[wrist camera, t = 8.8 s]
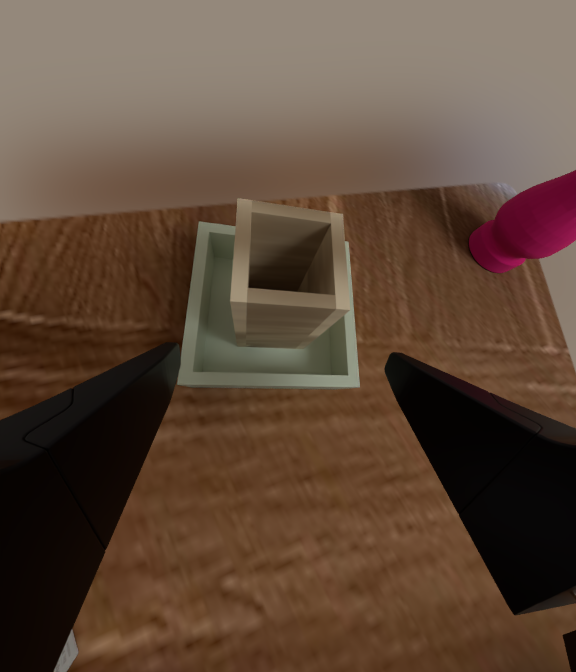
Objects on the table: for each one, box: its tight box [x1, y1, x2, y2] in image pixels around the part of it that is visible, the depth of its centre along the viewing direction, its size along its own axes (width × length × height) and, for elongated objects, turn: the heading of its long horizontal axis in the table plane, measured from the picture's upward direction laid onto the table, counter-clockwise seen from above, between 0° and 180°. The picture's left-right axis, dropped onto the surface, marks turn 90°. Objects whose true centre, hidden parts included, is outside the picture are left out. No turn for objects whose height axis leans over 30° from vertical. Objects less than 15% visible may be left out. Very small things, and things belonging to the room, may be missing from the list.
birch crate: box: [230, 198, 350, 349], centre depth 15 cm, size 6×6×9 cm
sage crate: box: [177, 222, 360, 389], centre depth 18 cm, size 12×12×4 cm
